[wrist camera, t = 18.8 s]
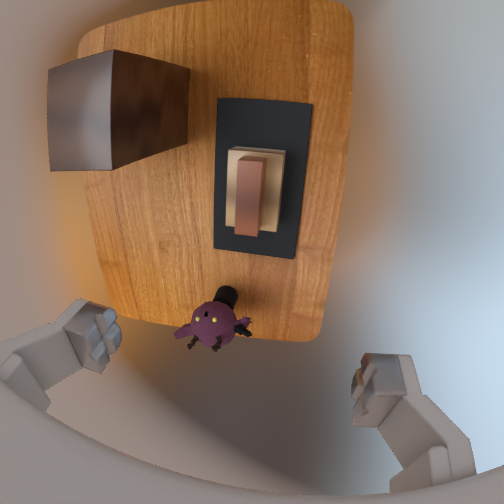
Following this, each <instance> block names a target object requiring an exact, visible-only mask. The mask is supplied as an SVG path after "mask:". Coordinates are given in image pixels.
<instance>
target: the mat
mask: <svg viewBox="0 0 504 504" xmlns="http://www.w3.org/2000/svg"><path fill="white" fill-rule="evenodd" d="M311 112H312V104H305V103H296V102H286V101H275V100H261V99H242V98H218V105H217V126H216V150H215V183H214V248H215V249H222V250H229V251H237V252H244V253H251V254H258V255H265V256H273V257H280V258H287V259H294V254H295V247H296V240H297V233H298V226H299V218H300V211H301V203H302V195H303V187H304V179H305V170H306V161H307V152H308V143H309V133H310V123H311ZM235 146H240V147H253V148H265V149H275V150H284V151H286V154H285V165H284V176H283V186H282V196H281V206H280V216H279V223H278V227H277V231H276V232H272V231H264V230H260V231H259V234H258V236H257V237H256V236H248V235H240V234H235V233H234V231H235V227H232V226H226V194H227V167H228V150H229V149H231V148H233V147H235Z"/></svg>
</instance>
